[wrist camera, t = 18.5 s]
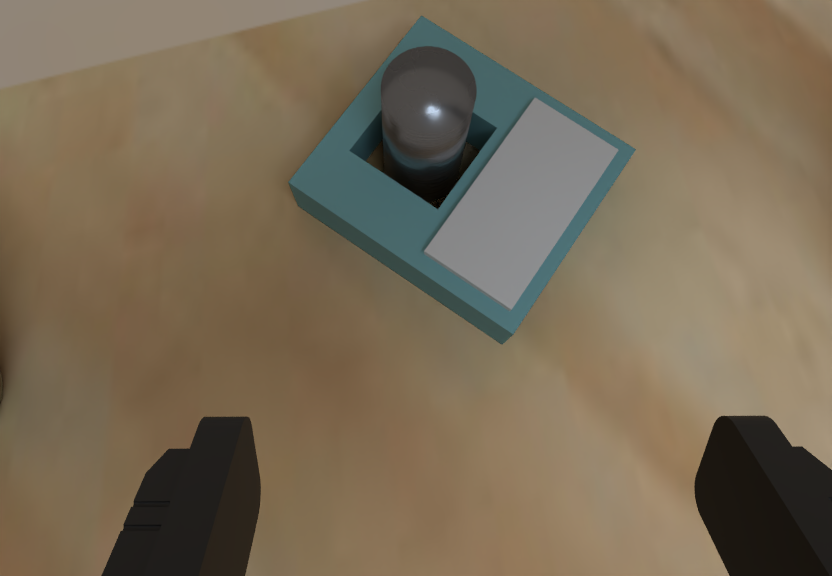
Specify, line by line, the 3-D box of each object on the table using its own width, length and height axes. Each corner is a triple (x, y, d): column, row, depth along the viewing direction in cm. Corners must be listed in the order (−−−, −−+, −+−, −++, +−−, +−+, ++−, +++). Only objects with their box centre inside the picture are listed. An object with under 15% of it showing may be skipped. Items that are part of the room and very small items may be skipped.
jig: (614, 175, 44) (639, 145, 39) (502, 344, 41) (515, 332, 36) (419, 52, 45) (421, 9, 41) (298, 205, 42) (286, 178, 38)
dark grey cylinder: (473, 159, 44) (495, 78, 34) (431, 217, 43) (441, 150, 33) (412, 120, 44) (416, 29, 34) (369, 176, 43) (361, 99, 33)
